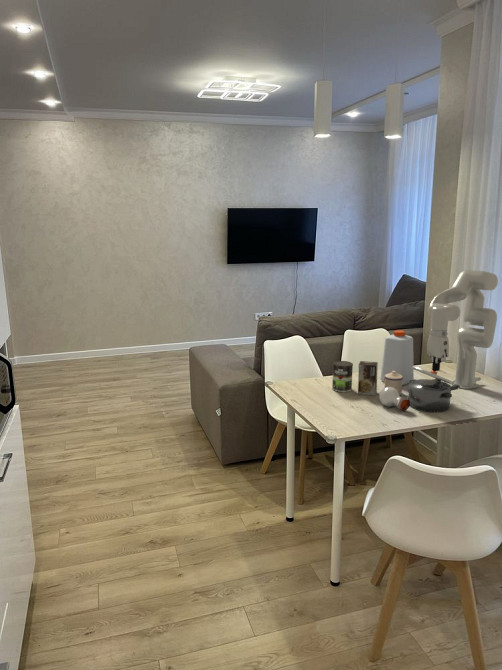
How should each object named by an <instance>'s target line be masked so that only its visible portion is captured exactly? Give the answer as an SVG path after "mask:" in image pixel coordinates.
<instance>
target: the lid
mask: <svg viewBox="0 0 502 670" xmlns="http://www.w3.org/2000/svg"><path fill="white" fill-rule="evenodd" d="M412 369H413V371H414V370H415V371H417V372H418V373H419V372H420V373H422V374H423V375H426V376H429V377H431V378H433V379H438V380H441V381H442V382H445V383H447V384H449V385H451V386H453V384H454V382H453V381H452V380H450V379H448V378H445V377H443V376H440V375H438V372H439V371H433V370H432V369H431V370H430V371H428V370H425V369H422V368H419V367H417V366H414V365H413V367H412Z"/></svg>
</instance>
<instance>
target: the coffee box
mask: <svg viewBox="0 0 502 670" xmlns="http://www.w3.org/2000/svg"><path fill="white" fill-rule="evenodd" d="M378 364H379V363H378V362H377V361H365V360H360V361H359V363H358V376H357V377H358V379H357V380H358V381H357V395H366V396H374V397H375V396H377V393H378V391H377V390H378V369H379V368H378V366H379V365H378Z"/></svg>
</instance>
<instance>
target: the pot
mask: <svg viewBox="0 0 502 670" xmlns="http://www.w3.org/2000/svg"><path fill="white" fill-rule="evenodd" d="M458 389H461V388H460V386H459V385H456V384H454V386H453V385H451V384H449V383H446V382H444V381H441V380H438V379H436V378H433V379H428V378H427V379H426V378H425V379H424V378H421V379H420V378H419V379H415V378H414V379H413V380H410V383H408V396H407V397H408V399H407V400H409V399H410V407H409V408H412V409H414V410H417V411H419V412H425V413H443V412H447V411H448V410H450V408H451V398H452V397H453V394H452V391H455V390H458Z"/></svg>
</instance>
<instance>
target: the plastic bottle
mask: <svg viewBox="0 0 502 670" xmlns="http://www.w3.org/2000/svg"><path fill="white" fill-rule="evenodd" d="M413 366H414V338H413V337H412V336H410V335H407V334H406V331H404V330H401V329H400V330H399V329H397V330H394V331H393V334H390V335H388V336H386V337H385V339H384V347H383V355H382V363H381V371H380V381H382V382H383V383H384V377H385V375H386V374H389V373H392V371H396V373H398V374H400V375H402V376H403V379H402V386H404V385H407V384H408V385H409V383H410V380H414V379H415V378H414V369H412V367H413Z"/></svg>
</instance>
